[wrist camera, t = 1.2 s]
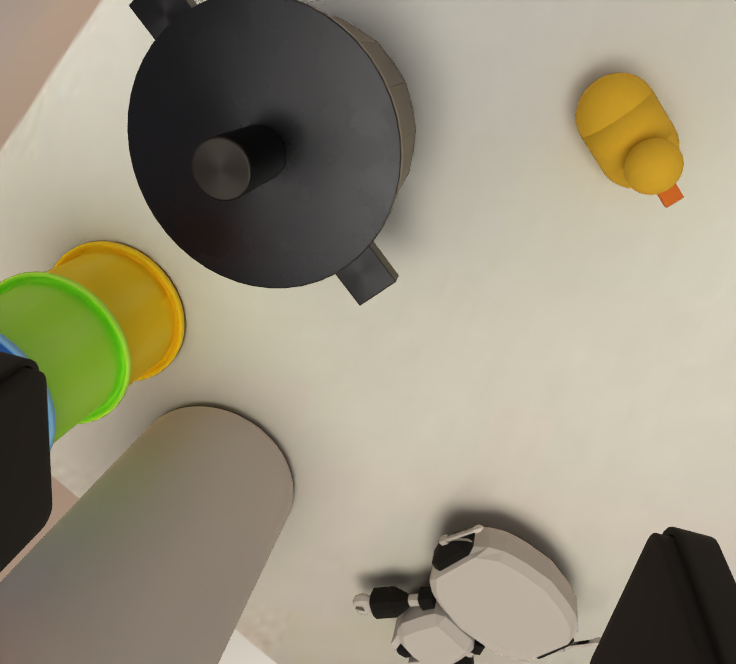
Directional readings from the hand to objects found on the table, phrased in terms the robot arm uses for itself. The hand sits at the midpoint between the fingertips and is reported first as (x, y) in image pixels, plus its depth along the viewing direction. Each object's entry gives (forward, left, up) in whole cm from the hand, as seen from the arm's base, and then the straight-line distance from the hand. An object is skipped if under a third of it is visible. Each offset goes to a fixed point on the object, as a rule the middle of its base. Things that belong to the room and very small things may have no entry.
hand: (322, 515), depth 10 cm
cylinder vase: (+28, +8, -30) cm, 42 cm away
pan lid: (+6, -7, -22) cm, 24 cm away
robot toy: (+17, +26, -30) cm, 43 cm away
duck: (-8, +3, -30) cm, 31 cm away
